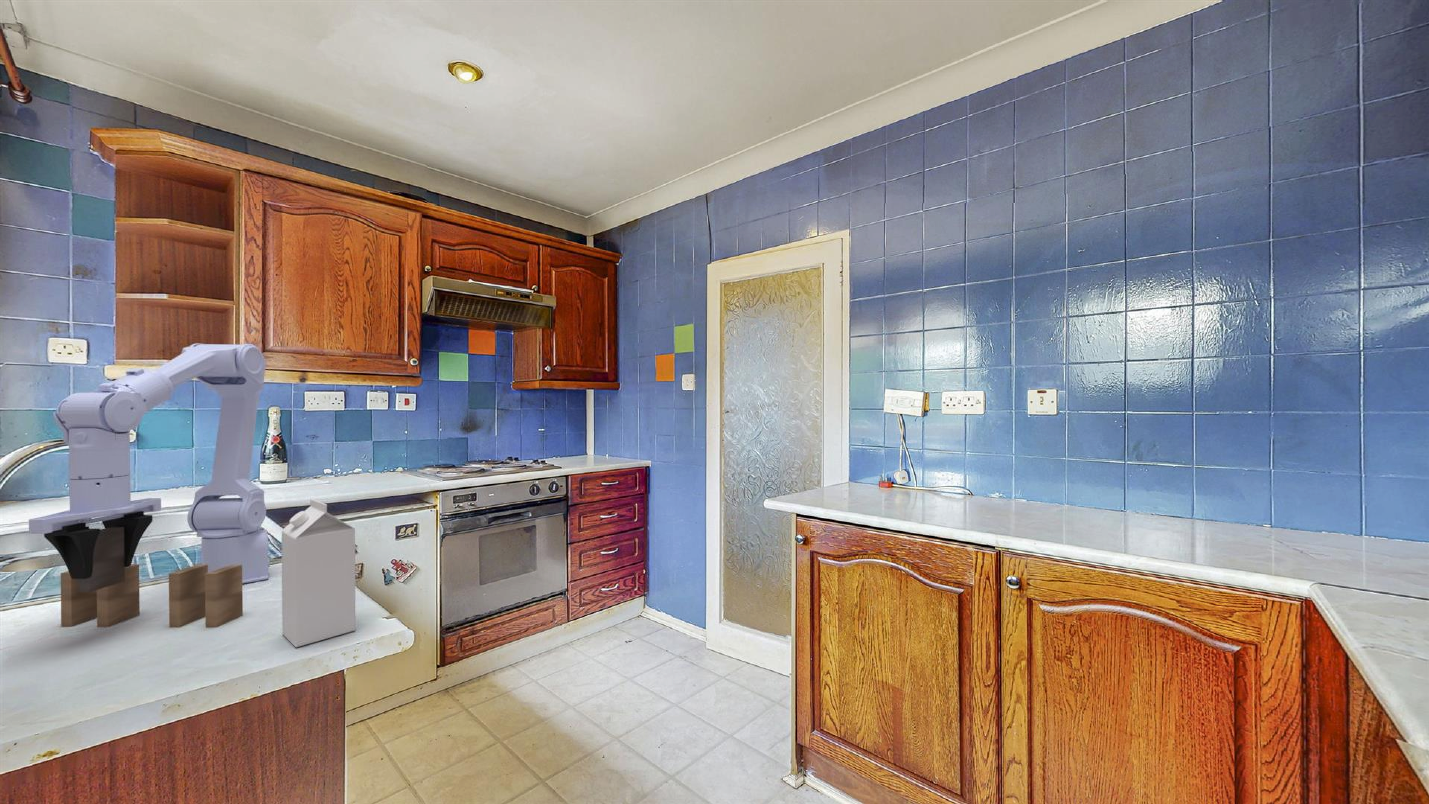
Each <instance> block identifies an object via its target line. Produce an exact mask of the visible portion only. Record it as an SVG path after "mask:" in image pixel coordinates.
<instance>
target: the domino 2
mask: <svg viewBox="0 0 1429 804" xmlns="http://www.w3.org/2000/svg"><path fill="white" fill-rule="evenodd" d="M140 605H141V604H140V564H137V563H134V564H133V563H131V566H129V567H125V581H124V582H121V583H118V584H115V585H111V586H108V587H105V588H102V589H98V590H97V618H96V627H97V628H103V627H104V628H108V627H111V626H115V625H116V624H120V623H122V622H124V621H127V620H130V619H132V618H135V617H138V616H140V613H141V612H140V611H141V610H140Z"/></svg>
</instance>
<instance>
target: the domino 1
mask: <svg viewBox="0 0 1429 804" xmlns="http://www.w3.org/2000/svg"><path fill="white" fill-rule="evenodd" d="M60 617H61V618H60V627H61V628H64V627H65V628H66V627H69V628H72V627H74V626H77V625H82V624H83V623H87V622H90V621H92V620H95V619H97V590H95V591H92V592H78V579H71V576H70V573H69V571H68V570H67V571H64V572H60Z"/></svg>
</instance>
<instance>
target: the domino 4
mask: <svg viewBox="0 0 1429 804" xmlns="http://www.w3.org/2000/svg"><path fill="white" fill-rule="evenodd" d="M243 603H244V602H243V584H242V565H229V566H226V567H223V568H221V569H218V570H215V571H212V572H209V573H206V574H205V617H204V618H205V628H215V629H216V628H218V627H220V626H223V625H225V624H227V623H229V622H231V621H234V620H236V619H238V618H240V617H242V616H244V615H243V611H244V610H243V605H244V604H243Z"/></svg>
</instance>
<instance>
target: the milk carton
mask: <svg viewBox="0 0 1429 804" xmlns="http://www.w3.org/2000/svg"><path fill="white" fill-rule="evenodd" d="M309 500H310V504H309V505H310V506H308V507H307V508H306V509H305V510H300V511H299V512H297V513H295V514H294V515H293V516H292V517H291V518H290V519H289V524H288V525H286V526H285V527H284V528H283V529H282V530H281V609H282V610H281V612H282V613H281V614H282V616H281V617H282V618H281V622H282V623H281V624H282V625H281V626H282V629H281V630H282V636H284V637H285V638H286V640H288V641H289V642H290V643H291V644H292V646H294V648H298V647H301V646H306V645H309V644H314V643H316V642H319V641H323V640H327V639H329V638H334V637H337V636H340V635H343V634H347V633H350V632H354V631H356V629H357V628H356V624H357V623H356V529H355V528H354V527H353V526H351V525H350V524H348V523H347V522H344V521H343V520H342V519H339V518H338V517H335V516H334V515H332V514H331V513H329V512H328V504H327V503H324V502H321V501H318V500H316V499H313V498H310V499H309Z"/></svg>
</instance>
